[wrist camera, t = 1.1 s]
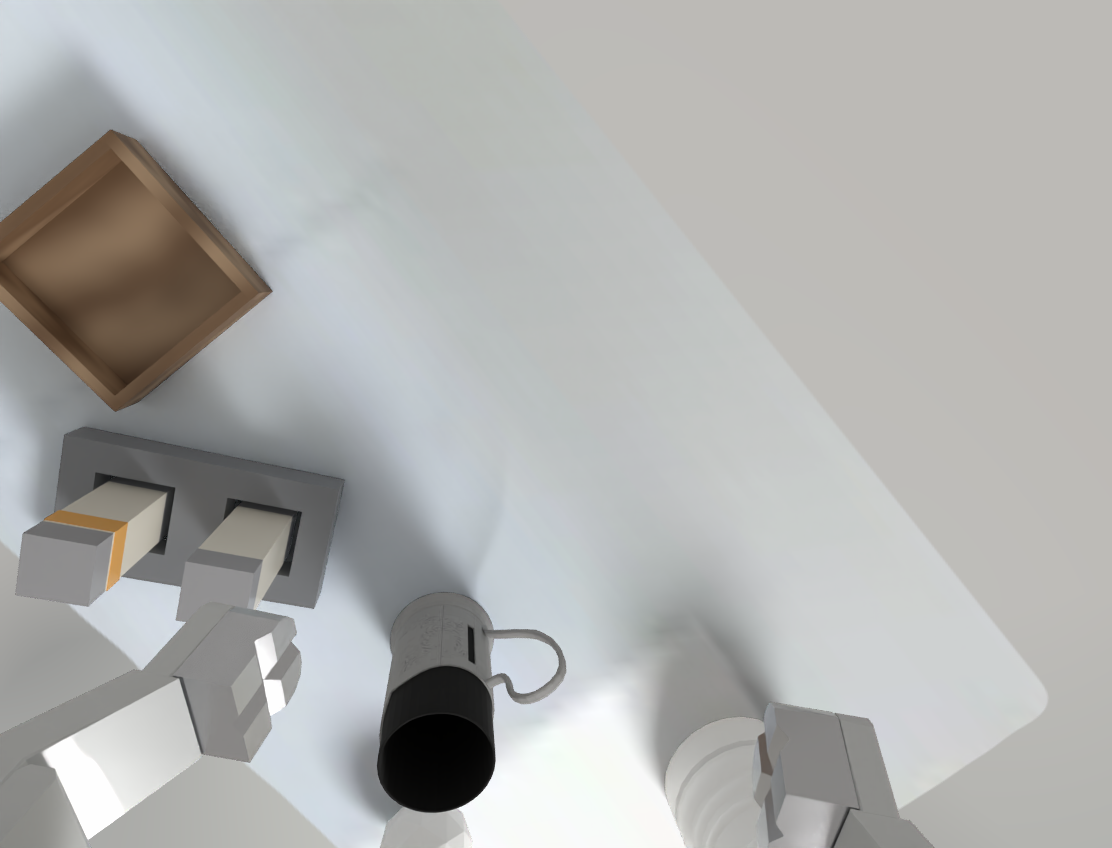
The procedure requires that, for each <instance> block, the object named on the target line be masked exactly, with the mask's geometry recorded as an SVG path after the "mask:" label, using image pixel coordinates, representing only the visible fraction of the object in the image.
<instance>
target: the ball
mask: <svg viewBox="0 0 1112 848" xmlns="http://www.w3.org/2000/svg"><path fill="white" fill-rule="evenodd" d="M472 844H473V841H472V838H471V835H470V833H469V830H468V827H467V824H466V821H465V818H464V815H463V813H462V812H461V811H460V810H458V809H454V810H450V811H446V812H439V813H424V812H418V811H414V810H411V809H408V808H406V807H403V808H401V809H400V810H399V811H398V812H397V813H396V814H395V815H394V816H393V817H392V818H391V819H390V820H389V821H388V822H387V824H386V828H385V831H384V835H383V839H382V842H381V846H380V848H472Z"/></svg>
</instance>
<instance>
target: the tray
mask: <svg viewBox="0 0 1112 848" xmlns="http://www.w3.org/2000/svg"><path fill="white" fill-rule="evenodd" d="M271 292H273V291H272V290H271V289H270V288H269V287H268V286H267V285H266V283H265V282H264V281H263V280H262V279H261V278H260V277H259V276H258V275H257V273H256V272H255V271H254V270H253V269H252V268H251V267H250V266H249V265H248V263H247V262H246V261H245V260H244V259H243V258H242V257H241V256H240V255H239V253H238V252H237V251H236V250H235V249H234V248H233V247H232V246H231V245H230V243H229V242H228V241H227V240H226V239H225V238H224V237H223V236H222V235H221V233H220V232H219V231H218V230H217V229H216V228H215V227H214V226H213V225H212V223H211V222H210V221H209V220H208V219H207V218H206V217H205V216H204V215H203V213H202V212H201V211H200V210H199V209H198V208H197V207H196V206H195V205H194V203H193V202H192V201H191V200H190V199H189V198H188V197H187V196H186V195H185V193H184V192H183V191H182V190H181V189H180V188H179V187H178V186H177V185H176V183H175V182H174V181H173V180H172V179H171V178H170V177H169V176H168V175H167V173H166V172H165V171H164V170H163V169H162V168H161V167H160V166H159V165H158V163H157V162H156V161H155V160H154V159H153V158H152V157H151V156H150V155H149V153H148V152H147V151H146V150H145V149H144V148H143V147H142V146H141V145H140V143H139V142H138V141H137V140H136V139H133V138H131V137H128V136H126V135H123V134H121V133H118V132H116V131H113V130H109V131H108V132H107V133H106V134H105V135H104V136H102V137H101V138H100V139H99V140H98V141H96V142H95V143H94V144H93V145H92V146H90V147H89V148H88V149H87V150H86V151H85V152H83V153H82V154H81V155H80V156H79V157H77V158H76V159H75V160H74V161H73V162H72V163H70V164H69V165H68V166H67V167H66V168H64V169H63V170H62V171H61V172H60V173H58V174H57V175H56V176H55V177H54V178H53V179H51V180H50V181H49V182H48V183H47V184H45V185H44V186H43V187H42V188H41V189H39V190H38V191H37V192H36V193H35V194H34V195H32V196H31V197H30V198H29V199H28V200H26V201H25V202H24V203H23V204H22V205H21V206H19V207H18V208H17V209H16V210H15V211H13V212H12V213H11V214H10V215H9V216H7V217H6V218H5V219H4V220H3V221H2V222H0V301H1V302H2V303H3V304H4V305H5V306H6V307H7V308H8V309H9V310H10V311H11V312H12V313H13V314H14V315H15V316H16V317H17V318H18V319H19V320H20V321H21V322H22V323H23V324H24V325H26V326H27V327H28V328H29V329H30V330H31V331H32V332H33V333H34V334H35V335H36V336H37V337H38V338H39V339H40V340H41V341H42V342H43V343H44V344H45V345H46V346H47V347H48V348H49V349H50V350H51V351H52V352H53V353H55V354H56V355H57V356H58V357H59V358H60V359H61V360H62V361H63V362H64V363H65V364H66V365H67V366H68V367H69V368H70V369H71V370H72V371H73V372H74V373H75V374H76V375H77V376H78V377H79V378H80V379H81V380H82V381H84V382H85V383H86V384H87V385H88V386H89V387H90V388H91V389H92V390H93V391H94V392H95V393H96V394H97V395H98V396H99V397H100V398H101V399H102V400H103V401H104V402H105V403H106V404H107V405H108V406H109V407H110V408H111V409H112V410H114V411H115V412H116V411H118V410H121V409H123V408H125V407H128V406H130V405H133V404H135V403H137V402H139V401H140V400H141V399H143V398H144V397H145V396H146V395H148V394H149V393H150V392H151V391H152V390H154V389H155V388H156V387H157V386H158V385H160V384H161V383H162V382H163V381H165V380H166V379H167V378H168V377H169V376H171V375H172V374H173V373H174V372H175V371H177V370H178V369H179V368H180V367H182V366H183V365H184V364H185V363H186V362H188V361H189V360H190V359H191V358H192V357H194V356H195V355H196V354H197V353H198V352H200V351H201V350H202V349H203V348H205V347H206V346H207V345H208V344H209V343H211V342H212V341H213V340H214V339H215V338H217V337H218V336H219V335H220V334H222V333H223V332H224V331H225V330H226V329H228V328H229V327H230V326H231V325H232V324H234V323H235V322H236V321H237V320H239V319H240V318H241V317H242V316H243V315H245V314H246V313H247V312H248V311H249V310H251V309H252V308H253V307H254V306H256V305H257V304H258V303H259V302H260V301H262V300H263V299H264V298H265V297H266V296H268V295H269V294H270V293H271Z"/></svg>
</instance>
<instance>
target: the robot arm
mask: <svg viewBox="0 0 1112 848" xmlns="http://www.w3.org/2000/svg"><path fill="white" fill-rule="evenodd" d="M296 633H297V631H296V627H295V622H294V619H293V618H290V617H287V616H282V615H277V614H272V613H267V612H262V611H258V610H253V609H248V608H243V607H238V606H232V605H227V604H222V603H217V602H212V601H211V602H209V603H207V604H205V605H203V606H201V607H200V608H199V609H198V610H197V611H196V612H195V613H194V614H193V616H192V617H191V618H190V619H189V620H188V621H187V622H186V623H185V624H184V625H183V626H182V628H181V629H180V630H179V631H178V632H177V633H176V634H175V635H174V636H173V637H172V638H171V640H170V641H169V642H168V643H167V644H166V645H165V646H164V647H163V648H162V649H161V650H160V651H159V653H158V654H157V655H156V656H155V657H154V658H153V659H152V660H151V661H150V662H149V663H148V665H147V666H146V667H145V668H144V669H143V670H142V671H141V670H132V671H130V672H127V673H125V674H123V675H121V676H119V677H117V678H115V679H113V680H111V681H109V682H107V683H105V684H103V685H100V686H98V687H96V688H95V689H92V690H90V691H88V692H86V693H84V694H82V695H80V696H78V697H76V698H74V699H72V700H69V701H67V702H65V703H63V704H61V705H59V706H57V707H55V708H53V709H51V710H49V711H47V712H44V713H42V714H40V715H38V716H36V717H34V718H32V719H30V720H28V721H26V722H24V723H22V724H20V725H18V726H15V727H13V728H11V729H9V730H7V731H5V732H3V733H1V734H0V848H91V846H90V843H89V841H88V839H90V838H91V837H92V836H94V835H95V834H97V833H98V832H99V831H101V830H102V829H103V828H105V827H106V826H107V825H109V824H110V823H112V822H113V821H115V820H116V819H117V818H119V817H120V816H121V815H123V814H124V813H126V812H127V811H128V810H130V809H131V808H132V807H134V806H135V805H137V804H138V803H139V802H141V801H142V800H144V799H145V798H146V797H148V796H149V795H150V794H152V793H153V792H155V791H156V790H157V789H159V788H160V787H162V786H163V785H164V784H166V783H167V782H168V781H170V780H171V779H173V778H174V777H175V776H177V775H178V774H180V773H181V772H182V771H184V770H185V769H186V768H188V767H189V766H191V765H192V764H193V763H195V762H196V761H197V760H199V759H200V758H201V757H202V754H204V755H209V756H215V757H221V758H226V759H232V760H238V761H243V762H249V763H250V762H251V760H252V759H253V757H254V755H255V754H256V752H257V751H258V749H259V748H260V746H261V745H262V743H263V741H264V740H265V738H266V737H267V735H268V734H269V732H270V731H271V729H272V726H271V717H270V716H271V715H272V714H274V713H276V712H277V711H279V710H281V709H282V708H284V707H286V705H287V704H288V702H289V700H290V699H291V697H292V695H293V694H294V692H295V689H296V686H297V683H298V681H299V678H300V674H301V663H302V661H301V655H300V651H299V650H298V649H297V648H296V647H295V645H294V644H293V643H292V642H291V641H292V639H293V638H294V636H295V635H296ZM764 727H765V732H764V733H762V734H761V735H759V736H758V738H757V742H756V746H755V750H754V757H753V766H752V784H753V798H754V799H755V801H756V802H757V803H758V805H759V806H760V808H761V811H760V814H759V818H758V821H757V824H756V831H757V842H758V848H934V847H933V846H932V844H931V843H930V842H929V841H928V840H927V839H926V838H925V837H924V835H923V834H922V833H921V832H920V831H919V830H918V829H917V827H916V826H915V825H914V824H913V823H912V822H911V821H910V820H905V819H901V818H900V817H899V813H898V810H897V806H896V803H895V799H894V796H893V792H892V789H891V785H890V782H889V778H888V775H887V771H886V768H885V764H884V761H883V757H882V754H881V750H880V747H879V743H878V740H877V737H876V733H875V730H874V726H873V724H872V723H871V721H870V720H869V719H867V718H861V717H856V716H850V715H844V714H838V713H833V712H829V711H823V710H817V709H811V708H805V707H799V706H793V705H787V704H781V703H775V702H770V703H769V704H768V706H767V708H766V711H765V714H764Z"/></svg>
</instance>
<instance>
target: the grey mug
mask: <svg viewBox="0 0 1112 848" xmlns="http://www.w3.org/2000/svg"><path fill="white" fill-rule="evenodd" d="M508 638H530V639H537V640H540V641H542V642H545V643H547V644H548V645H550V646H552V648H553V649H554V650H555V651H556V653H557V655H558V658H559V667H558V669H557V672H556V674H555V675H554V676H553V678H552V679H551V680H550V681H549V682H548V683H546V684H545V685H544V686H543V687H541V688H539V689H538V690H536V691H534V692H531V693H528V694H520V693H516V692H515V691H514V689H513V685H512V682H511V680H510V678H509V677H508V676H507V675H506V674H503V673H501V674H497V675H495V676H492V672H491V659H490V654H491V651H492V648H493V642H494V639H508ZM390 644H391V651H392V654H393V656H392V662H391V668H390V674H389V680H388V685H387V691H386V697H385V703H384V709H383V714H382V720H381V727H380V735H379V737H380V748H379V754H378V762H377V770H378V776H379V780H380V783H381V785H382V786H383V788H384V790H385V791H386V793H387V794H388V795H389V796H390V797H391V798H392V799H393V800H394V801H396V802H397V803H398V804H400V805H402V806H404V807H406V808H408V809H411V810H414V811H418V812H424V813H439V812H446V811H450V810H454V809H457V808H459V807H461V806H463V805H465V804H467V803H469V802H470V801H472V800H473V799H474V798H476V797H477V796H478V795H479V794H480V793H481V792H482V791H483V790H484V788H485V787H486V786H487V784H488V783H489V781H490V779H491V777H492V774H493V772H494V768H495V761H496V760H495V744H494V731H493V717H494V697H493V687H494V686H496V685H498V684H501V683H506V689H507V691H508V694H509V695H510V697H511V698H512V699H513V700H514V701H515V702H517V703H520V704H531V703H534V702H538V701H540V700H542V699H543V698H545V697H547V696H548V695H549V694H551V693H552V692H553V691H554V690H556V688H557V687H558V686H559V685H560V684H561V682H562V681H563V679H564V676H565V674H566V661H565V658H564V656H563V653H562V650H561V649H560V647H559V646H558V644H557V643H556V642H555V641H554V640H553V639H552V638H551V637H549V636H547V635H546V634H544V633H542V632H540V631H537V630H529V629H511V630H493V626H492V622H491V620H490V618H489V616H488V614H487V613H486V612H485V610H484V609H483V608H482V607H481V606H480V605H479V604H478V603H476V602H475V601H473V600H472V599H470V598H468V597H465V596H463V595H460V594H456V593H448V592H441V593H433V594H429V595H425V596H423V597H420V598H418V599H416V600H415V601H413V602H412V603H410V604H409V605H408V606H407V607H405V608H404V609H403V610H402V612H401V613H400V614H399V615H398V617H397V619H396V620H395V622H394V624H393V627H392V631H391V637H390Z"/></svg>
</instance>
